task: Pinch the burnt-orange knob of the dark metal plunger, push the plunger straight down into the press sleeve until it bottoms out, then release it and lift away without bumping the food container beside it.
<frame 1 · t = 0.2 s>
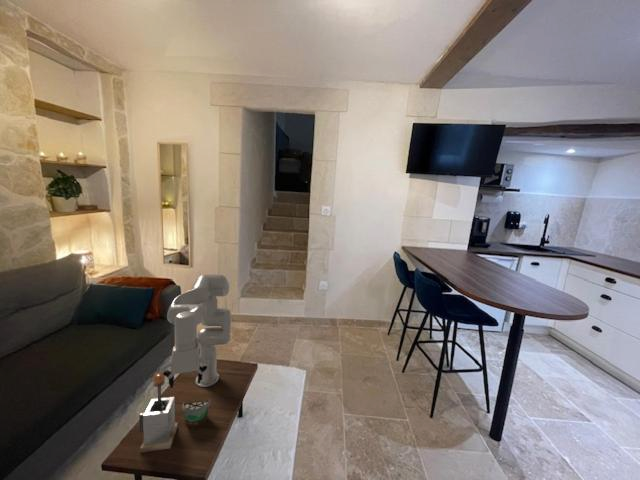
hand: (186, 383, 103), 32 cm above the table, fingers open, 9 cm apart
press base: (160, 438, 113), on the table
plunger: (159, 396, 110), point 21 cm above the table, slide at 8.0 cm
food container: (195, 424, 121), on the table
press sleeve: (156, 420, 111), on the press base, point 9 cm above the table
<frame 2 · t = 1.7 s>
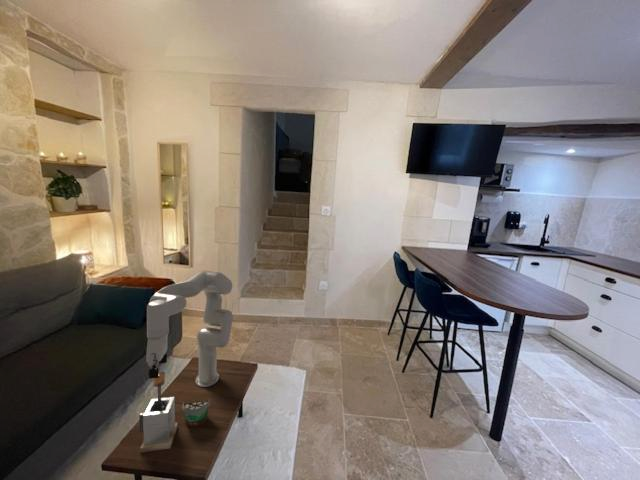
hand: (158, 369, 108), 33 cm above the table, fingers open, 9 cm apart
nothing on the table moved.
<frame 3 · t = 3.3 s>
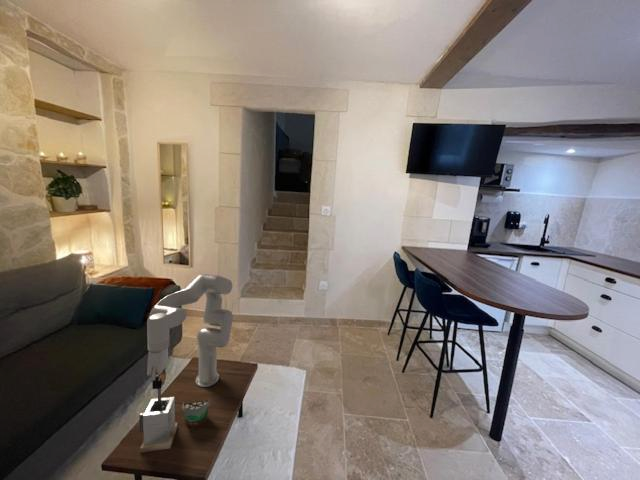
hand: (159, 383, 109), 26 cm above the table, fingers closed on plunger, 4 cm apart
plunger: (159, 396, 110), point 21 cm above the table, slide at 8.0 cm, touching gripper
everything else where it was.
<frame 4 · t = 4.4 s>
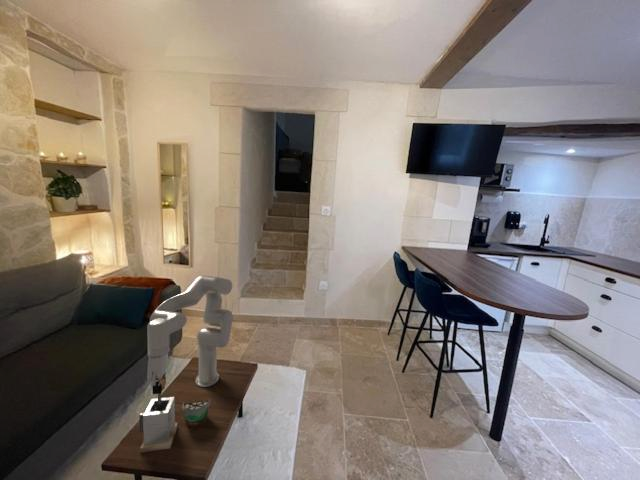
hand: (159, 388, 109), 24 cm above the table, fingers closed on plunger, 4 cm apart
plunger: (159, 401, 110), point 18 cm above the table, slide at 5.7 cm, touching gripper
everything else where it was.
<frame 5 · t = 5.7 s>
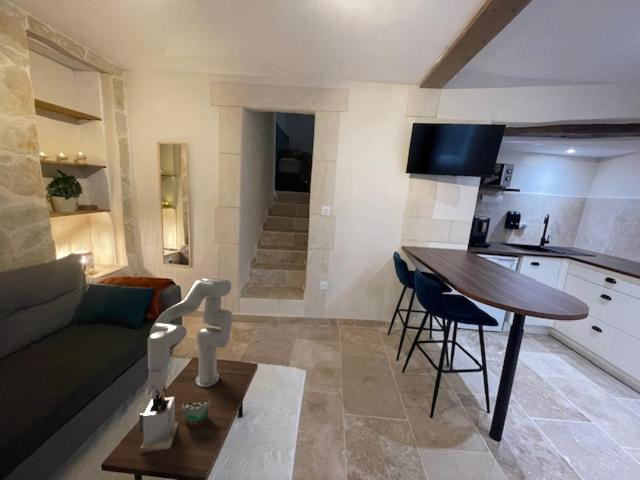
hand: (159, 401, 110), 18 cm above the table, fingers closed on plunger, 4 cm apart
plunger: (159, 413, 111), point 12 cm above the table, slide at -0.1 cm, touching gripper
everything else where it was.
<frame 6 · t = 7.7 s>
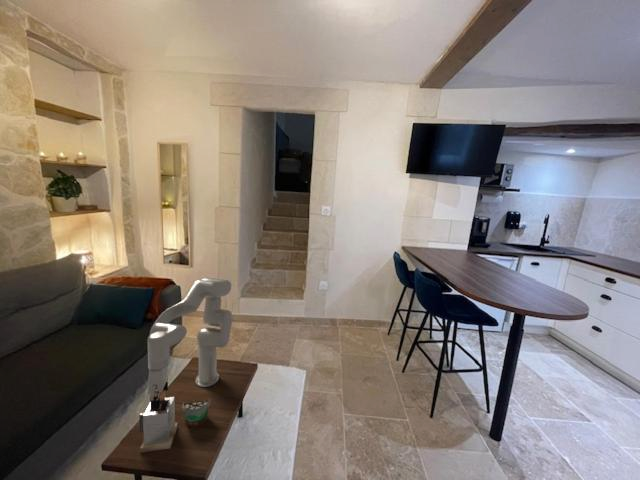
hand: (159, 398, 110), 19 cm above the table, fingers open, 9 cm apart
plunger: (159, 413, 111), point 12 cm above the table, slide at -0.1 cm
everything else where it was.
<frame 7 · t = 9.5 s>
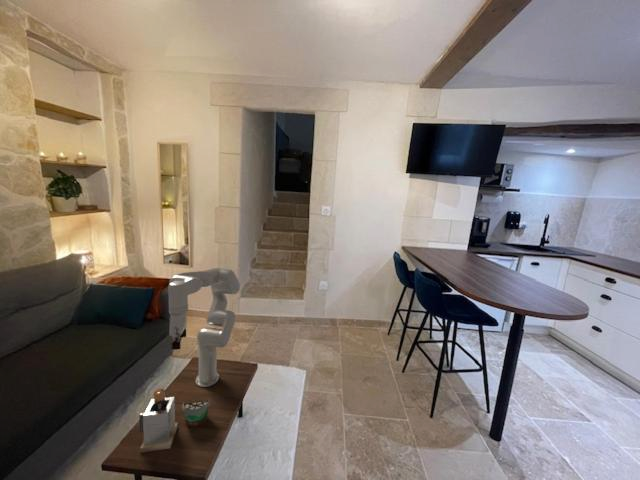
hand: (179, 342, 121), 37 cm above the table, fingers open, 9 cm apart
nothing on the table moved.
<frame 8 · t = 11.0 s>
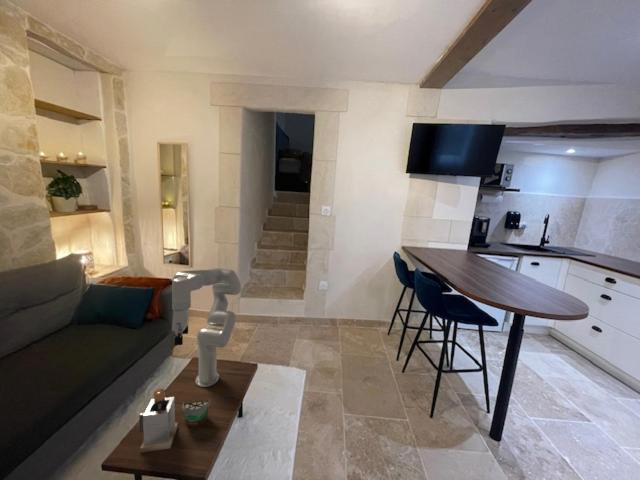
hand: (181, 339, 122), 38 cm above the table, fingers open, 9 cm apart
nothing on the table moved.
at the end: plunger slide at -0.1 cm; the gripper is holding nothing; food container moved 0.2 cm from its start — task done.
